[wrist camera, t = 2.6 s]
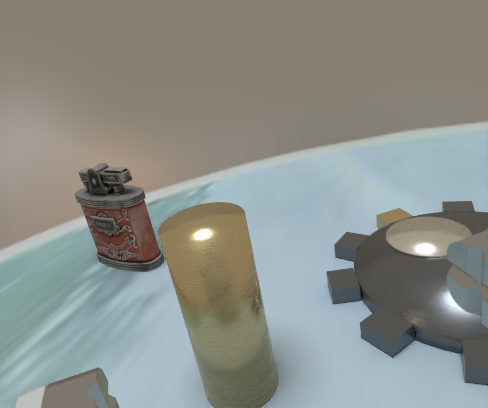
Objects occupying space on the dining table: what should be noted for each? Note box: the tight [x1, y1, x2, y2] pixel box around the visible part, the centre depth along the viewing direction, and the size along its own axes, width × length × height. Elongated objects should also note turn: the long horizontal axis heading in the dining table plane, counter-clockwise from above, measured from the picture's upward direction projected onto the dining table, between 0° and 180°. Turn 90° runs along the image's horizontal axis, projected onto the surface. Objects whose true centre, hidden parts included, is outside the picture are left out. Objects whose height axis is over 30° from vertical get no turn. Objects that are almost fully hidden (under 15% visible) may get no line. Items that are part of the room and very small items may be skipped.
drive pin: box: [158, 202, 278, 408], centre depth 23 cm, size 4×4×11 cm
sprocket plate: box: [327, 201, 488, 385], centre depth 30 cm, size 20×20×1 cm
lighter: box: [75, 163, 164, 272], centre depth 40 cm, size 8×3×10 cm, turn 59°
